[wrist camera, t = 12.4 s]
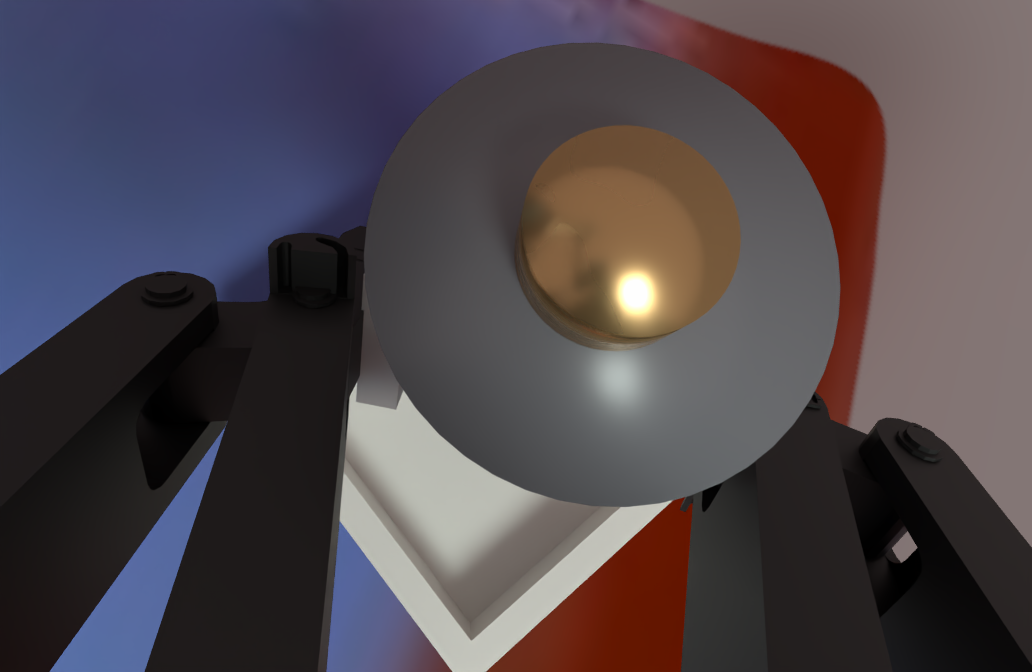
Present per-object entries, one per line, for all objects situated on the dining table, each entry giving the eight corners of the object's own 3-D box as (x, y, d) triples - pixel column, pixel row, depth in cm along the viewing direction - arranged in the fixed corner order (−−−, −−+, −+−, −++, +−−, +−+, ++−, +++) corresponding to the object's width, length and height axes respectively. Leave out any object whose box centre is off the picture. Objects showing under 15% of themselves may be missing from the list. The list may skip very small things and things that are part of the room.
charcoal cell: (401, 375, 18) (228, 171, 5) (519, 285, 19) (653, -97, 6) (496, 497, 18) (605, 656, 4) (613, 399, 19) (1000, 276, 5)
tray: (237, 356, 21) (208, 345, 19) (521, 156, 24) (528, 123, 22) (465, 660, 20) (465, 689, 18) (738, 413, 23) (771, 410, 20)
